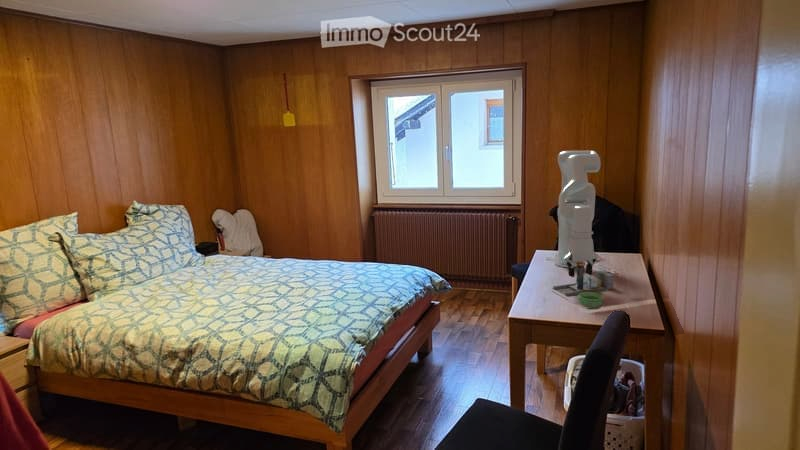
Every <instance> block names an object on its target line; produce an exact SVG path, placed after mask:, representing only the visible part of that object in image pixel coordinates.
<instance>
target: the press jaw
mask: <svg viewBox="0 0 800 450" xmlns="http://www.w3.org/2000/svg"><path fill="white" fill-rule="evenodd" d="M576 265H577V267H576V282H575V283H576V285H572V286H569V288H571V289H573V290H575V291H579V290H586V289H594V288H597V278H596V277H595V276H593V275H589V274H587V273H585V267H586V261H585V262H576Z"/></svg>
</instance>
